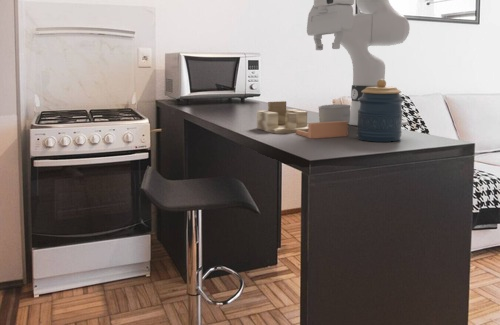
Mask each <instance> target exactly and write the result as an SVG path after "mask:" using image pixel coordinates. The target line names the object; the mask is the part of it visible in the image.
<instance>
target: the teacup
mask: <svg viewBox="0 0 500 325" xmlns="http://www.w3.org/2000/svg"><path fill="white" fill-rule="evenodd" d="M317 109H318V119H319V120H318V121H319V122H335V121H348V125H350V124H349V121H350V109H351V104H344V103H343V104H324V105H319V106H318V108H317Z"/></svg>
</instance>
